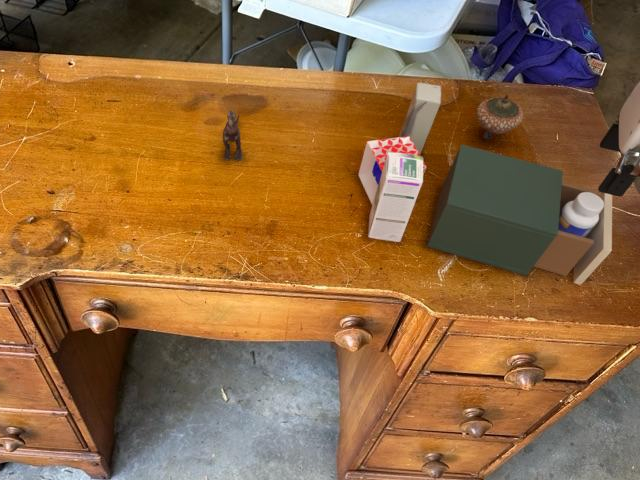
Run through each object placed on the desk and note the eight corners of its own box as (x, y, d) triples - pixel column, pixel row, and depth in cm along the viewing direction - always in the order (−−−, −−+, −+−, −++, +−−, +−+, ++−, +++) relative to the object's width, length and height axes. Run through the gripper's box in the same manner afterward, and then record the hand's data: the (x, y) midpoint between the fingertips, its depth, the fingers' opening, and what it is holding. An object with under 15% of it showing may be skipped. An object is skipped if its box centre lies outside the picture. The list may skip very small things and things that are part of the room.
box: (398, 137, 112) (416, 80, 101) (420, 141, 112) (441, 84, 101) (396, 155, 109) (415, 98, 98) (419, 159, 109) (441, 102, 98)
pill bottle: (536, 241, 95) (565, 200, 87) (552, 224, 98) (582, 183, 90) (566, 259, 93) (599, 219, 85) (581, 242, 96) (615, 201, 88)
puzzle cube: (413, 199, 103) (426, 166, 96) (372, 205, 102) (382, 172, 95) (397, 169, 107) (409, 135, 101) (358, 174, 106) (367, 140, 99)
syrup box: (400, 243, 97) (426, 181, 85) (366, 238, 97) (386, 175, 85) (401, 218, 100) (425, 155, 88) (367, 213, 101) (387, 150, 89)
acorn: (510, 131, 114) (533, 88, 106) (506, 157, 110) (529, 114, 101) (469, 120, 116) (489, 77, 107) (463, 145, 111) (483, 102, 103)
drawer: (590, 228, 99) (620, 192, 92) (588, 287, 92) (620, 253, 84) (493, 202, 102) (514, 165, 94) (484, 256, 95) (506, 221, 87)
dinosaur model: (223, 116, 96) (227, 68, 105) (220, 171, 105) (223, 122, 114) (247, 118, 96) (248, 70, 105) (241, 173, 105) (243, 124, 114)
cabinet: (533, 214, 102) (563, 170, 93) (526, 276, 94) (557, 234, 85) (440, 189, 104) (461, 144, 96) (426, 246, 97) (447, 203, 88)
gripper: (729, 113, 63) (638, 218, 77) (715, 31, 72) (636, 138, 86) (655, 98, 64) (579, 204, 78) (651, 19, 73) (584, 127, 87)
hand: (609, 170), depth 82 cm, fingers open, 9 cm apart
